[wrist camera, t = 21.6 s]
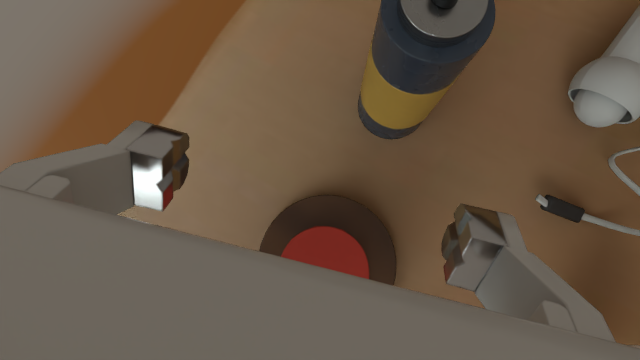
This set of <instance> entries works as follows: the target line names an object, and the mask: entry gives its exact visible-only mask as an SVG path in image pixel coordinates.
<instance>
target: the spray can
mask: <svg viewBox="0 0 640 360" xmlns="http://www.w3.org/2000/svg"><path fill="white" fill-rule="evenodd" d="M494 21H495V3H494V0H381V5H380V9H379V13H378V18H377V22H376V26H375V31H374V34H373V37H372V41H371V46H370V50H369V54H368V59H367V63H366V68H365V72H364V76H363V81H362V85H361V91H360V96H359V100H358V112H359V116H360V119H361V121H362V123H363V124H364V126H365V127H366V128H367V129H368V130H369V131H370V132H371V133H373V134H375V135H377V136H379V137H381V138H385V139H398V138H402V137H405V136H407V135H409V134H411V133H412V132H413V131H415V130H416V129H417V127H418V126H419V125H420V124H421V123H422V121H423V120H424V119H425V118H426V117H427V116H428V114H429V113H430V112H431V111H432V109H433V108H434V107H435V106H436V104H437V103H438V102H439V101H440V99H441V98H442V97H443V96H444V94H445V93H446V92H447V91H448V89H449V88H450V87H451V86H452V84H453V83H454V82H455V81H456V79H457V78H458V77H459V75H460V74H461V72H462V71H463V70H464V68H465V67H466V66H467V65H468V63H469V62H470V61H471V60H472V58H473V57H474V56H475V55H476V53H477V52H478V51H479V50H480V48H481V47H482V46H483V45H484V43H485V42H486V40H487V39H488V37H489V36H490V34H491V31H492V29H493V26H494Z"/></svg>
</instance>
